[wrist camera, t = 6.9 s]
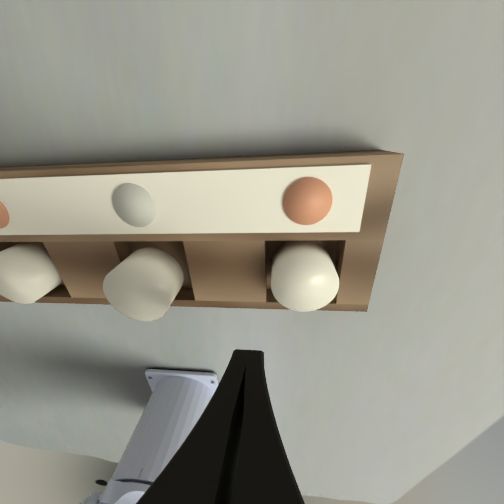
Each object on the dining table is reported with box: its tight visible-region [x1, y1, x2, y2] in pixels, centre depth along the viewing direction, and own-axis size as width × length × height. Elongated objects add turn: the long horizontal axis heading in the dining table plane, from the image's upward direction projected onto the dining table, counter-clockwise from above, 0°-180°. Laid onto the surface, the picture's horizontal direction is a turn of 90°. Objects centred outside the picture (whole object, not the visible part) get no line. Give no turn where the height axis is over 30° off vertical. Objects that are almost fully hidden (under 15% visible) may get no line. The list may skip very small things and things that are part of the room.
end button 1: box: [0, 242, 63, 304], centre depth 17 cm, size 4×4×2 cm
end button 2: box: [271, 240, 339, 312], centre depth 15 cm, size 4×4×2 cm
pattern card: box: [0, 164, 371, 235], centre depth 14 cm, size 4×26×1 cm, turn 93°
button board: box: [0, 150, 404, 312], centre depth 16 cm, size 10×29×2 cm, turn 93°
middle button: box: [103, 247, 184, 321], centre depth 15 cm, size 4×4×2 cm
